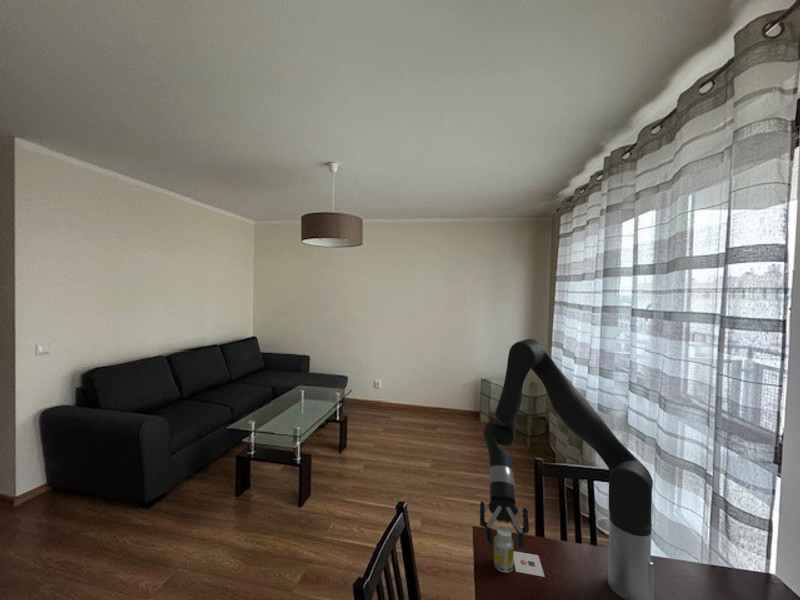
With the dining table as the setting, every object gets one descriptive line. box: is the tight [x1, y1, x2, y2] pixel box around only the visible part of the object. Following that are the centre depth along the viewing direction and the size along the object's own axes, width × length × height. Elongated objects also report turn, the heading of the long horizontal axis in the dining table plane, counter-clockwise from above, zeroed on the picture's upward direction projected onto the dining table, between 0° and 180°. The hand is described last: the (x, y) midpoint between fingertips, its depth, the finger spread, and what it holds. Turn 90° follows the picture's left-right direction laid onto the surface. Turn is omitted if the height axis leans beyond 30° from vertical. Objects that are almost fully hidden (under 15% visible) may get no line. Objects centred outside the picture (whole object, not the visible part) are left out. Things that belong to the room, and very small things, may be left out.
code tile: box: [513, 550, 546, 578], centre depth 96 cm, size 8×8×1 cm
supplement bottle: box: [493, 526, 515, 574], centre depth 94 cm, size 5×5×10 cm
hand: (505, 547), depth 93 cm, fingers open, 7 cm apart
